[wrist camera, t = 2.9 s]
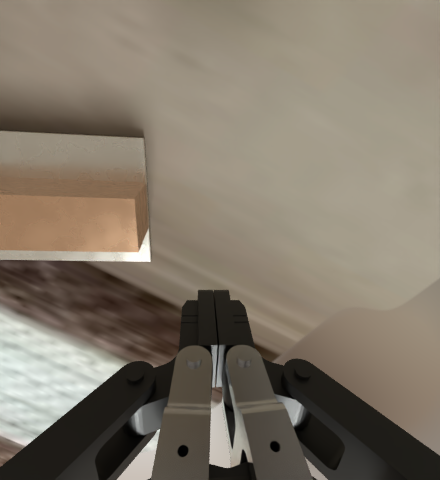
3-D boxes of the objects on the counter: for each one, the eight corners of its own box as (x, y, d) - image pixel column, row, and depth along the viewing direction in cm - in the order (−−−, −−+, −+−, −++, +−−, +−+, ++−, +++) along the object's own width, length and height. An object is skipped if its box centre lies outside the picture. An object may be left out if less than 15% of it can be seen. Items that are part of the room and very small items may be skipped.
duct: (-98, 172, 23) (-170, 188, 19) (145, 181, 25) (134, 198, 21) (-76, 223, 25) (-136, 249, 21) (148, 228, 27) (138, 253, 23)
